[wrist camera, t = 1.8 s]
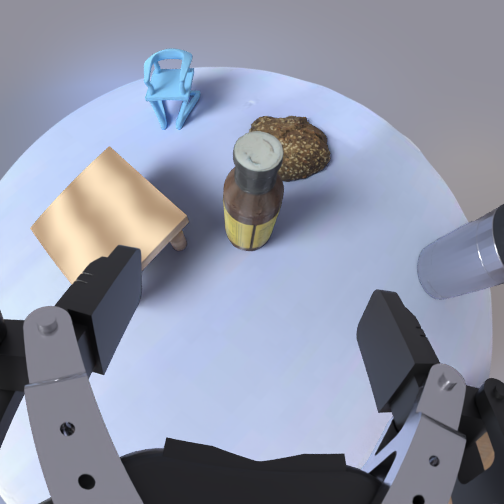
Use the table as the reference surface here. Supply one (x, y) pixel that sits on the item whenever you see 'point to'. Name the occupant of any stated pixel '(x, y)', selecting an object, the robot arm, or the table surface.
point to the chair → (170, 85)
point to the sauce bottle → (253, 190)
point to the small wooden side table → (108, 217)
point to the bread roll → (296, 145)
